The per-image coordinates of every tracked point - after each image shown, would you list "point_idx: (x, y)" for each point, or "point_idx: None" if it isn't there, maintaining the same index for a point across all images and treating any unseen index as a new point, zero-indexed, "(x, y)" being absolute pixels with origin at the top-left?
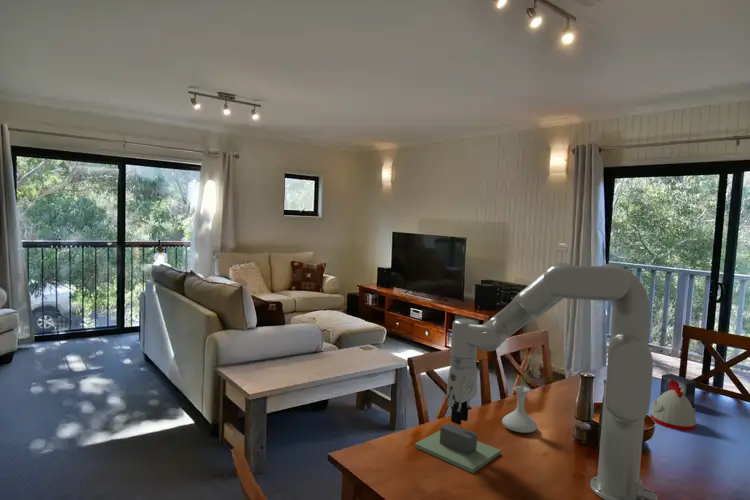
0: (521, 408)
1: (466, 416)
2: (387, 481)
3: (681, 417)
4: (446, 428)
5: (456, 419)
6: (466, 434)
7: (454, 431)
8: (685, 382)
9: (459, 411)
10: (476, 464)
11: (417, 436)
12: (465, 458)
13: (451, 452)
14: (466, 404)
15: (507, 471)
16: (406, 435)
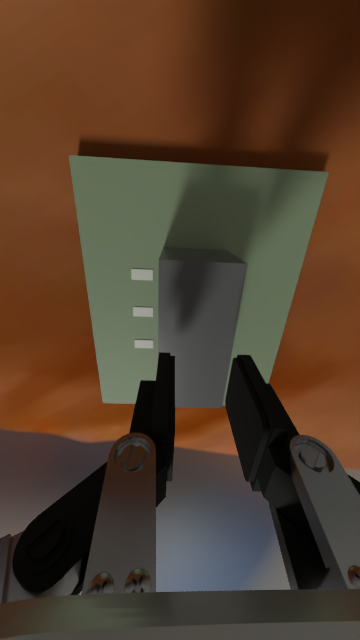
0: None
1: (171, 374)
2: None
3: None
4: (215, 389)
5: (274, 393)
6: (209, 299)
7: (219, 354)
8: None
9: (302, 440)
10: (278, 182)
11: (194, 421)
12: (257, 245)
13: (246, 307)
14: (156, 479)
15: (204, 32)
16: (210, 438)
